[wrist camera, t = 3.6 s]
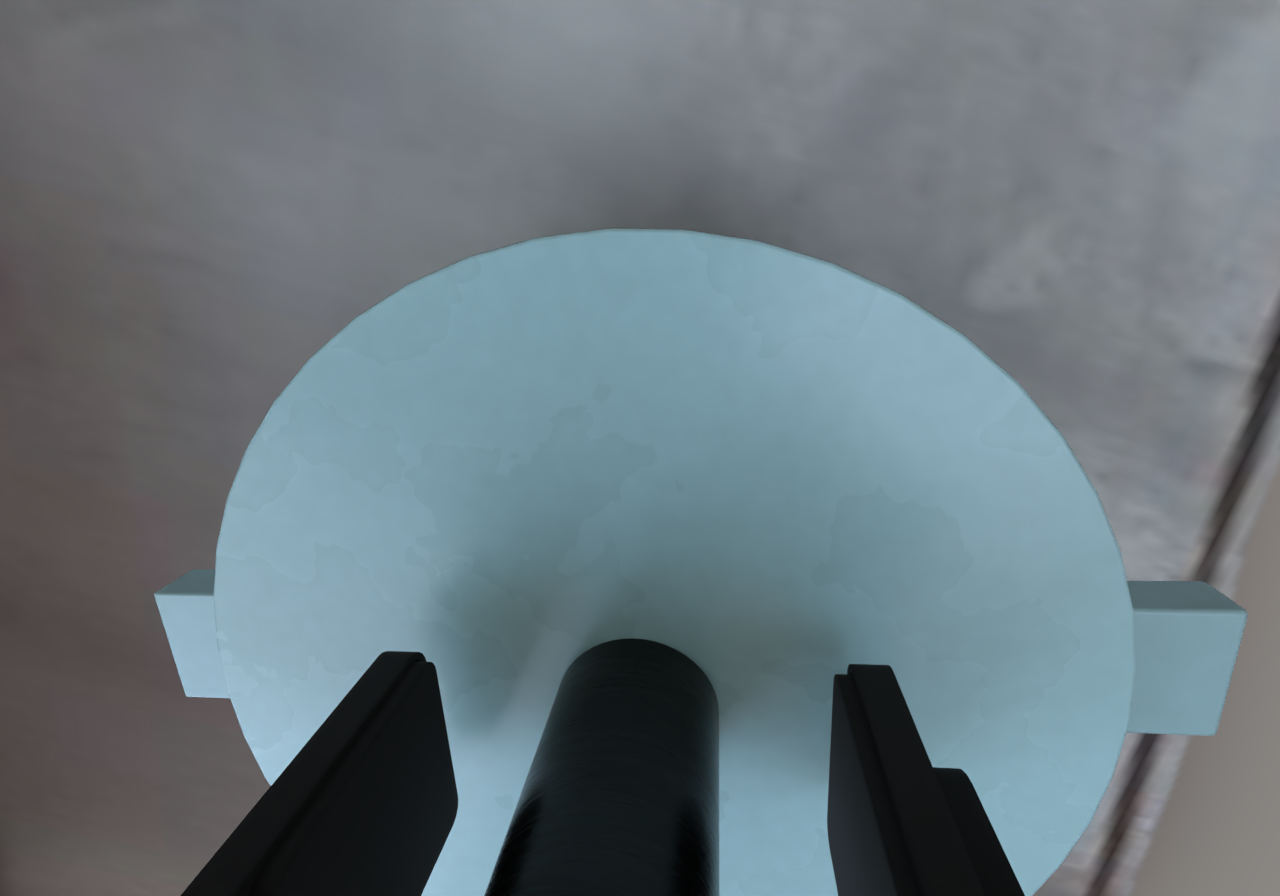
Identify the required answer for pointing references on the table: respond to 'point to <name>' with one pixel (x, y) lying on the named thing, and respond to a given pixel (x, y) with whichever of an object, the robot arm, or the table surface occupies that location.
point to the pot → (1163, 627)
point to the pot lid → (676, 561)
